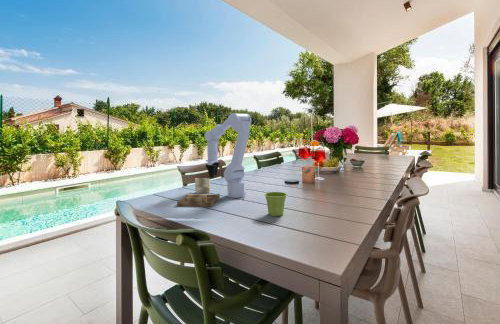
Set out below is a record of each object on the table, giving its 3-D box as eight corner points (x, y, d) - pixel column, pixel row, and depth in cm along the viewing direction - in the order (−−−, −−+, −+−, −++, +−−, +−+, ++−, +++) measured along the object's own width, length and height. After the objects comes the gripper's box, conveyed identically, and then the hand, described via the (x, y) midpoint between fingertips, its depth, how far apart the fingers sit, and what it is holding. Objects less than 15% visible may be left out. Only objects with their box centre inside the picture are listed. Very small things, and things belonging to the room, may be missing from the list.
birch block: (210, 194, 158) (209, 178, 157) (209, 194, 156) (209, 178, 155) (196, 193, 159) (195, 178, 158) (195, 194, 157) (194, 178, 156)
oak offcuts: (206, 203, 133) (206, 194, 133) (205, 205, 130) (205, 195, 130) (188, 203, 134) (188, 194, 134) (186, 205, 131) (186, 195, 131)
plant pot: (260, 215, 117) (260, 195, 116) (270, 210, 125) (269, 190, 124) (282, 219, 112) (282, 197, 111) (290, 212, 121) (290, 192, 120)
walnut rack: (219, 199, 145) (219, 193, 145) (211, 209, 127) (211, 202, 127) (189, 198, 147) (189, 193, 147) (177, 208, 129) (177, 202, 129)
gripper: (208, 151, 167) (209, 174, 168) (202, 153, 152) (202, 178, 154) (220, 151, 166) (221, 174, 168) (214, 153, 152) (215, 178, 153)
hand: (213, 176), depth 161 cm, fingers open, 7 cm apart
